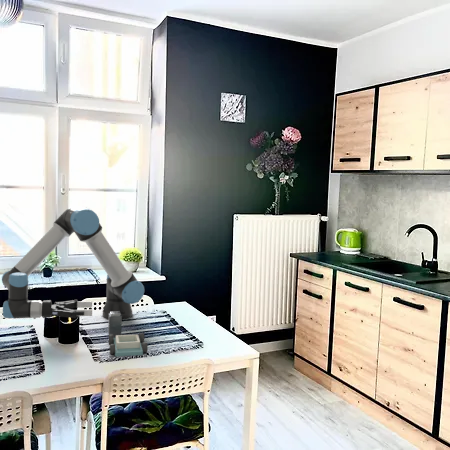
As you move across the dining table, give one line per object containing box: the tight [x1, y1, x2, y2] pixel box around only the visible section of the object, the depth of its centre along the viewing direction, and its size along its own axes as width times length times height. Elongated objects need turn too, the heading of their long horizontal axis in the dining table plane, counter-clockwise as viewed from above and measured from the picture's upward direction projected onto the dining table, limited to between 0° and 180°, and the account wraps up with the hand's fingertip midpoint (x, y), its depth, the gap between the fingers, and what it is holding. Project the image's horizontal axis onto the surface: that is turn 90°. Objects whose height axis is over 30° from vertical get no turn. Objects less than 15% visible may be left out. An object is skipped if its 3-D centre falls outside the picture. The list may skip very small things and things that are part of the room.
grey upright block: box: [107, 311, 123, 337], centre depth 217 cm, size 6×6×10 cm
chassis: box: [108, 332, 149, 357], centre depth 201 cm, size 18×15×4 cm
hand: (92, 308), depth 214 cm, fingers open, 13 cm apart
